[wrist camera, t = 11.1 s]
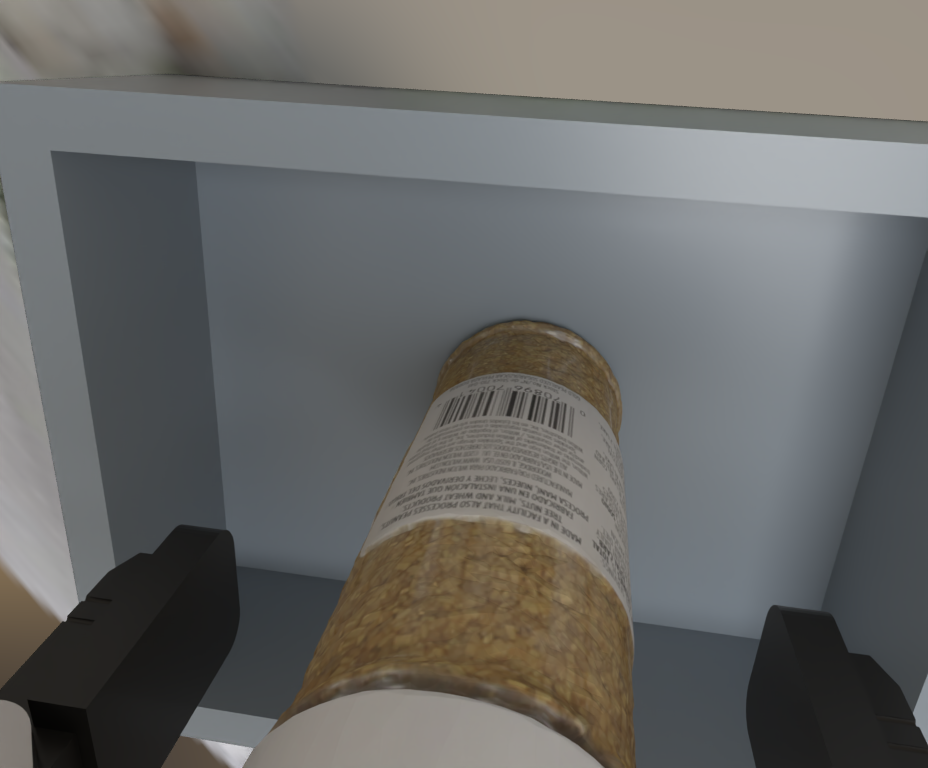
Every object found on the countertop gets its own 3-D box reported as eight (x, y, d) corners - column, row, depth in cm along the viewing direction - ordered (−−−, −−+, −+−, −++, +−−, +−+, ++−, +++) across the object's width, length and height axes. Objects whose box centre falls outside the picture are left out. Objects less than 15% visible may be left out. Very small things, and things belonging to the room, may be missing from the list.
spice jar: (418, 451, 20) (124, 1096, 8) (465, 287, 18) (174, 796, 6) (589, 507, 20) (571, 1258, 7) (655, 348, 18) (777, 1007, 5)
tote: (167, 73, 18) (-17, 82, 13) (993, 125, 16) (1204, 162, 10) (214, 567, 24) (100, 721, 18) (830, 654, 21) (911, 859, 16)
